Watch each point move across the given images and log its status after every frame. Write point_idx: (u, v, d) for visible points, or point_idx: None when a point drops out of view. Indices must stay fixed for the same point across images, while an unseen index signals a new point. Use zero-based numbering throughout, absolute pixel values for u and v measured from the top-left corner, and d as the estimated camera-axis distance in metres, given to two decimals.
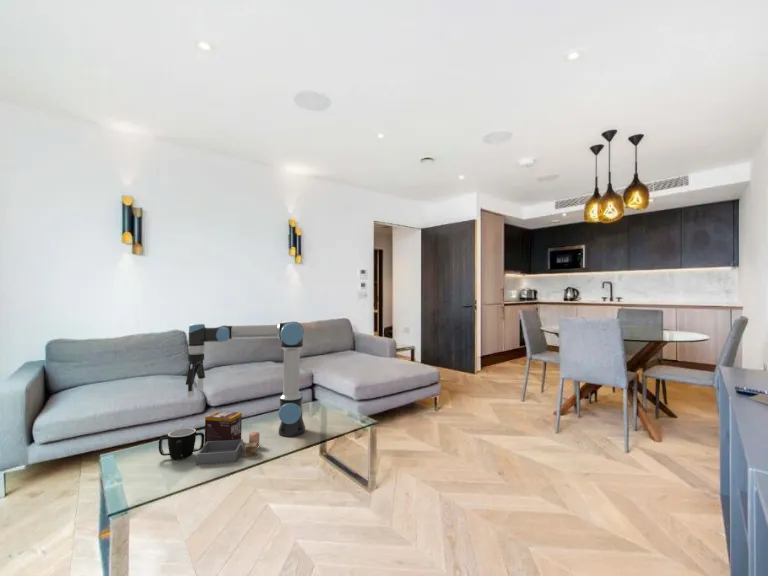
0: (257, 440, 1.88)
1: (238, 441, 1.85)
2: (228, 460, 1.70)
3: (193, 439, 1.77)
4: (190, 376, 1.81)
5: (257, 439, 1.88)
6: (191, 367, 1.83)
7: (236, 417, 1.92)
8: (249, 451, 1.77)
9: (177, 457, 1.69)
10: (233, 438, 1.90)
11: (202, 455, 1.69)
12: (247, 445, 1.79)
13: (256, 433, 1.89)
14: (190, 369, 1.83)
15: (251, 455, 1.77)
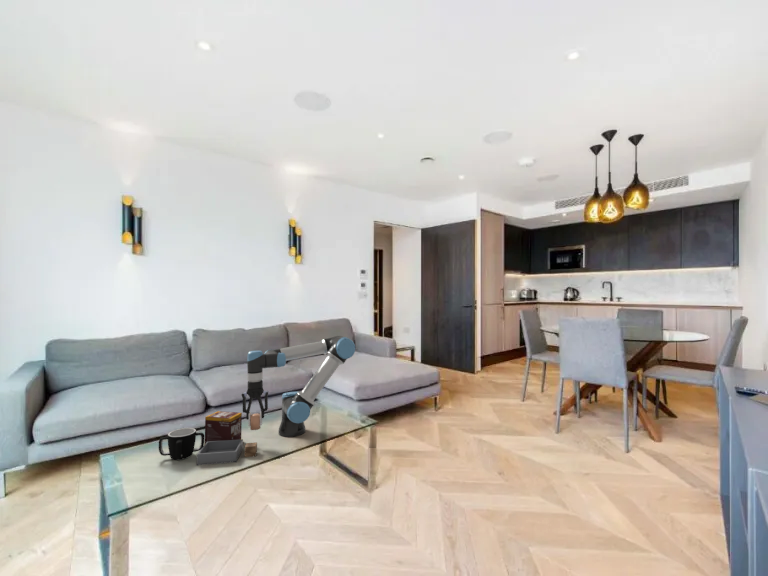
0: (258, 421, 1.88)
1: (238, 441, 1.85)
2: (228, 460, 1.70)
3: (193, 439, 1.77)
4: None
5: (258, 420, 1.88)
6: None
7: (236, 417, 1.92)
8: (249, 451, 1.77)
9: (177, 457, 1.69)
10: (233, 438, 1.90)
11: (202, 455, 1.69)
12: (247, 445, 1.79)
13: (257, 414, 1.90)
14: None
15: (251, 455, 1.77)
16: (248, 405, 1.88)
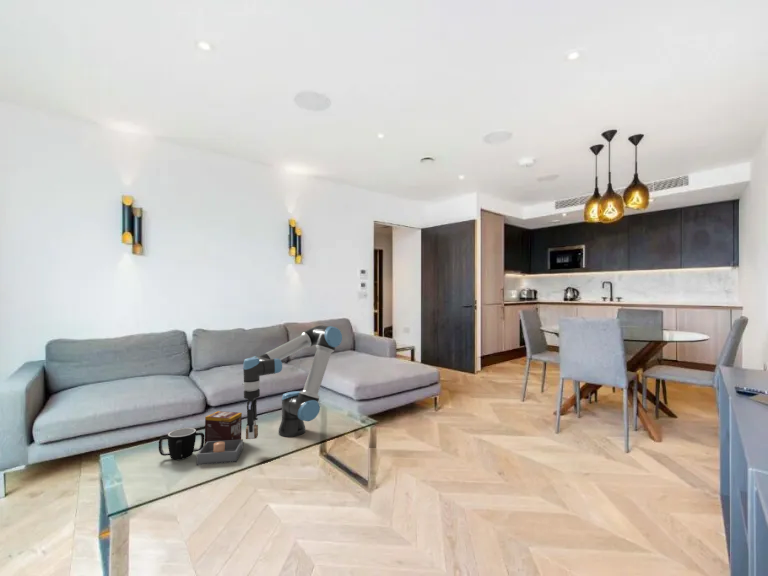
0: (222, 450, 1.73)
1: (238, 441, 1.85)
2: (228, 460, 1.70)
3: (193, 439, 1.77)
4: (250, 418, 1.75)
5: (222, 449, 1.73)
6: (249, 408, 1.74)
7: (236, 417, 1.92)
8: None
9: (177, 457, 1.69)
10: (233, 438, 1.90)
11: (202, 455, 1.69)
12: None
13: (221, 443, 1.74)
14: (249, 410, 1.75)
15: None
16: (253, 416, 1.78)
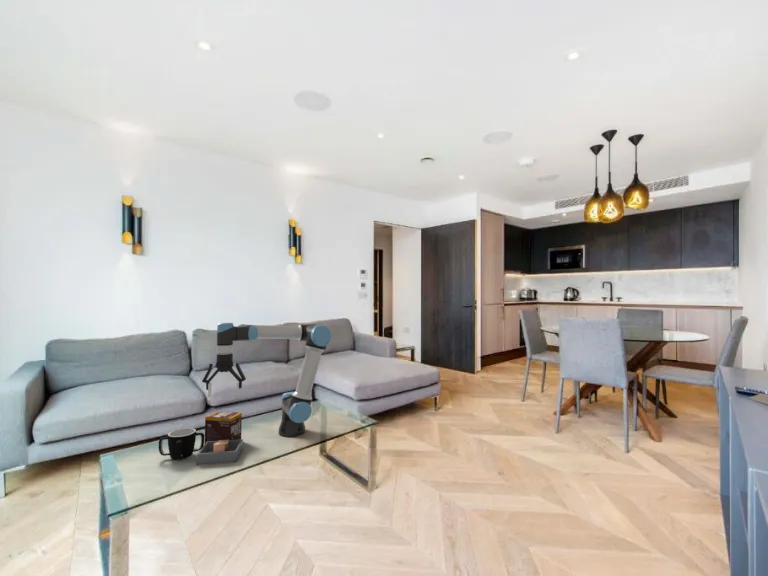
0: (222, 450, 1.73)
1: (238, 441, 1.85)
2: (228, 460, 1.70)
3: (193, 439, 1.77)
4: None
5: (222, 449, 1.73)
6: None
7: (236, 417, 1.92)
8: None
9: (177, 457, 1.69)
10: (233, 438, 1.90)
11: (202, 455, 1.69)
12: (222, 440, 1.82)
13: (221, 443, 1.74)
14: None
15: None
16: (211, 376, 1.80)
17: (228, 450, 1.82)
